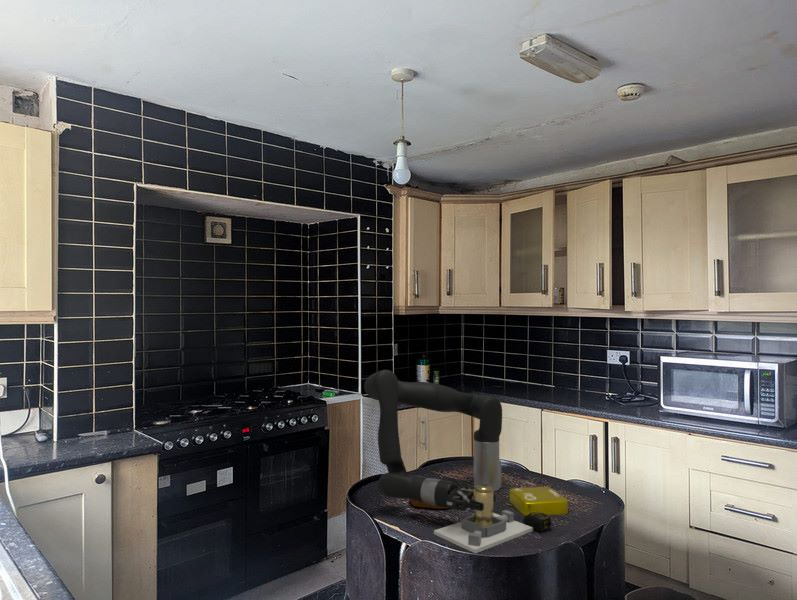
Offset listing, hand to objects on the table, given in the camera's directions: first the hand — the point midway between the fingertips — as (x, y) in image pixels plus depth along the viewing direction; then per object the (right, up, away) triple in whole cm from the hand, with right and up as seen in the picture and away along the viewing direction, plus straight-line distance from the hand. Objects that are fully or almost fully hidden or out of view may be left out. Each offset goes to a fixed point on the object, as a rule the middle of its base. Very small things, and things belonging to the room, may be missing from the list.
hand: (489, 502), depth 152 cm
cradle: (-2, -9, +1) cm, 9 cm away
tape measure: (+15, -9, +4) cm, 18 cm away
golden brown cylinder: (-2, -8, +1) cm, 8 cm away
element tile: (+20, -10, +22) cm, 31 cm away
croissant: (-14, -10, +25) cm, 31 cm away
